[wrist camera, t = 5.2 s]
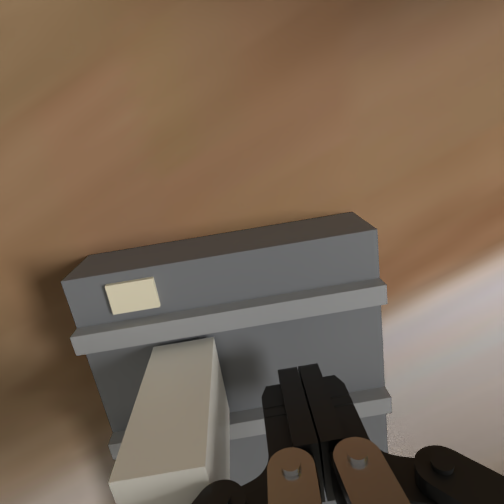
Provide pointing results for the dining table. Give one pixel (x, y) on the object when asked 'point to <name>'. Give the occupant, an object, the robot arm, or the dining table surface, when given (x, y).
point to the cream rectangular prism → (175, 428)
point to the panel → (240, 319)
